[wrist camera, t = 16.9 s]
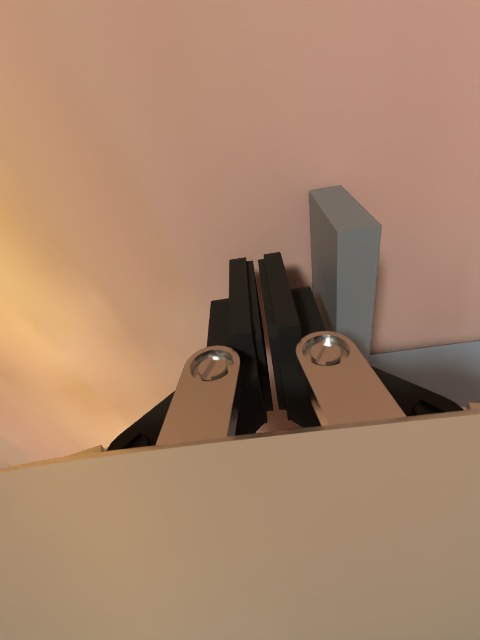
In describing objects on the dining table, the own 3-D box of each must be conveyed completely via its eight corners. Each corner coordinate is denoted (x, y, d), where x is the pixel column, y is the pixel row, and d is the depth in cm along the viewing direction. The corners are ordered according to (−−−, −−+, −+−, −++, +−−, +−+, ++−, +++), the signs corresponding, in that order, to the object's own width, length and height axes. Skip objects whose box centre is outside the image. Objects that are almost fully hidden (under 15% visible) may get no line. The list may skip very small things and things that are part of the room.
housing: (321, 519, 24) (333, 578, 21) (308, 190, 11) (337, 232, 8) (480, 503, 23) (515, 562, 20) (686, 126, 10) (872, 146, 7)
